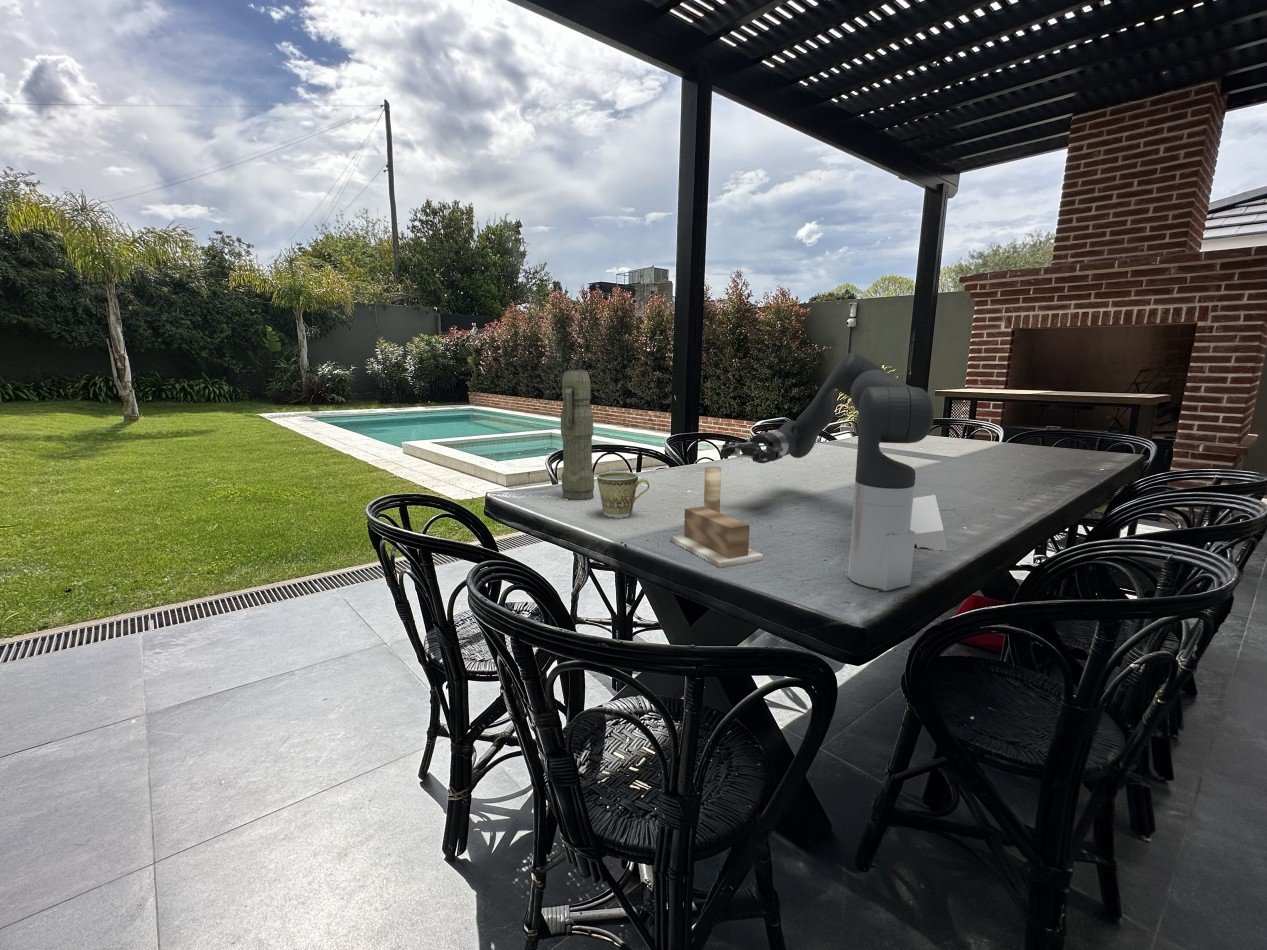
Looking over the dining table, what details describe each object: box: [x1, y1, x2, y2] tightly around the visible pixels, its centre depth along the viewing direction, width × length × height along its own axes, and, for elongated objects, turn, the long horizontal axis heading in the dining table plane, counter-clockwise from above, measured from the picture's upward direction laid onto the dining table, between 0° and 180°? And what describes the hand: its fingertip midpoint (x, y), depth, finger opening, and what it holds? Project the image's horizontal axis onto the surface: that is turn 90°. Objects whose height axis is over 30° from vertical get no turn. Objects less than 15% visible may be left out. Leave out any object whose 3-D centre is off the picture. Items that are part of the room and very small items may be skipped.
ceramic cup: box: [596, 471, 650, 519], centre depth 142 cm, size 13×10×10 cm
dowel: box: [703, 466, 722, 513], centre depth 131 cm, size 4×4×14 cm
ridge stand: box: [670, 505, 764, 568], centre depth 116 cm, size 18×10×7 cm, turn 26°
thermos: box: [560, 369, 595, 501], centre depth 158 cm, size 9×12×35 cm
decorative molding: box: [910, 494, 949, 552], centre depth 133 cm, size 34×5×10 cm
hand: (737, 455), depth 138 cm, fingers open, 8 cm apart
